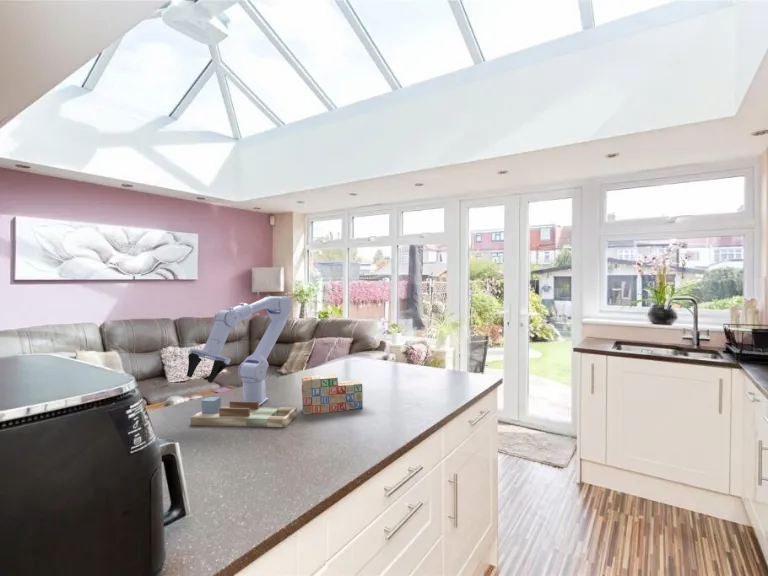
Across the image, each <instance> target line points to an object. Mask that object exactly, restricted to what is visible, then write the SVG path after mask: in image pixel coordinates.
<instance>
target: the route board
mask: <svg viewBox="0 0 768 576" xmlns="http://www.w3.org/2000/svg"><path fill="white" fill-rule="evenodd" d="M297 409H298V408H297V407H283V406H281V407H280V406H278V407H277V406H275V407H274V406H272V407H271V406H269V407H268V406H259V401H243V400H230V401H229V406H228V405H227V406H226V405H225V406H224V405H223V406H222V405H221V408H219V411H218V412H217V413H215V414H202V410H200V411H199V412H197V413H195V414H193V415H192V416H190V418H189V419H190V426H214V427H215V426H218V427H219V426H221V427H224V426H225V427H262V428H263V427H264V428H266V427H267V428H286V427H287V426H288V425H289V424H290V423H291V422H292V420H294V419H295V417H296V416H297V415H298V414H297V413H298V412H297V411H298V410H297Z"/></svg>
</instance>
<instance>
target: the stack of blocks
mask: <svg viewBox="0 0 768 576" xmlns="http://www.w3.org/2000/svg"><path fill="white" fill-rule="evenodd" d="M338 378H339V377H338V376H337V374H336V373H331V374H318V375H306V376H305V375H304V376H301V397H302V400H301V401H302V412H303V415H309V414H310V413H313V414H321V413H323V414H324V413H331V412H330V411H333V412H339V411H338V410H343V411H350V410H349V409H354V410H362V408H364V406H363V405H364V404H363V401H364V399H363V398H364V397H363V396H364V395H363V383H362V382H361V381H360V379H355V380H354V379H353V380H342V381H340V380H339V381H338Z"/></svg>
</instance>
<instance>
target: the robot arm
mask: <svg viewBox="0 0 768 576" xmlns="http://www.w3.org/2000/svg"><path fill="white" fill-rule="evenodd" d="M292 308H293V306H292V301H291V299H290V298H289V296H286V295H284V296H278V295H277V296H273V295H268V296H264V297H263V298H261V299H260V300H259V299H258V300H257V301H255V302H253V303H250V304H249V303H245V302H240V303H238V305H236V306H234V307H233V306H229V307H228V308H227V310H225V309H223V310H222V309H221V310H220V311H218V312H217V313H216V314H214V318H213V319H214V320H213V321H214V324H213V327H212V329H211V331H210V333H209V336H208V338H207V340H206V343H205V344H204V347H203V349H197V348H192V347H190V349H189V350H188V356H187V357H188V366H187V367H188V368H187V373H186V376H187V377H188V378H192V377H193V375H194V374H195V373H194V372H195V370H196V369H197V367H198V365H200V363H201V362H202V360H203V359H207V360H211V361H213V363H212V364H213V366H212V369H211V371H210V373H209V376H208V378H207V382H208V383H210V384H212V383H213V382H214V380H215V379H216V378H217V376H219V375H220V374H221V372H222V371H224V370H225V369H227V365H230V363H231V360H232V359H231V358H229V357H227V356H223V355H221V352H222V351H223V348H224V346H225V344H226V342H227V339H228V338H229V334H230V332H231V330H232V328H233V327H236V326H237V325H238V324H239V322H242V321H244V320H246V319H249V318H251V317H252V316H253V313H257V312H260V311H262V310H266V313H267V315H268V317H269V319H271V321H270V323H269V325H268V327H267V329H266V331H265V332H264V334H263V336H262V337H261V339H260V341H259V342H258V344H257V346H256V348H255V350H254V351H253V353H252V354H251V355H249V356H247V357H245V360H244V361H243V362H241V363H240V364H239V366H238V368H237V373H238V376H239V377H240V378H241V381H242V401H259V407H261V405H263V404H264V403H265V402H266V401H268V400H269V397H267V392H266V391H267V389H266V388H267V387H266V381H265V380H264V379H265V377H266V375H267V372H268V371H267V370H268V368H269V366H270V365H269V361H267V359H268V357H269V356H270V354H271V352H272V350H273V349H274V346H275V344H276V342H277V340H278V339H279V336H280V335H281V333H282V331H283V329H284V327H285V326H286V324H287V320H288V316H289V313H290V312H291V310H292Z"/></svg>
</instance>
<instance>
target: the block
mask: <svg viewBox="0 0 768 576" xmlns="http://www.w3.org/2000/svg"><path fill="white" fill-rule="evenodd" d="M221 398H222V397H221V396H208V397H206V398H204V399H202V400H201V411H202V414H215V413H217V412H218V411H219V408H221V406H222V404H221V403H222V402H221Z"/></svg>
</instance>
